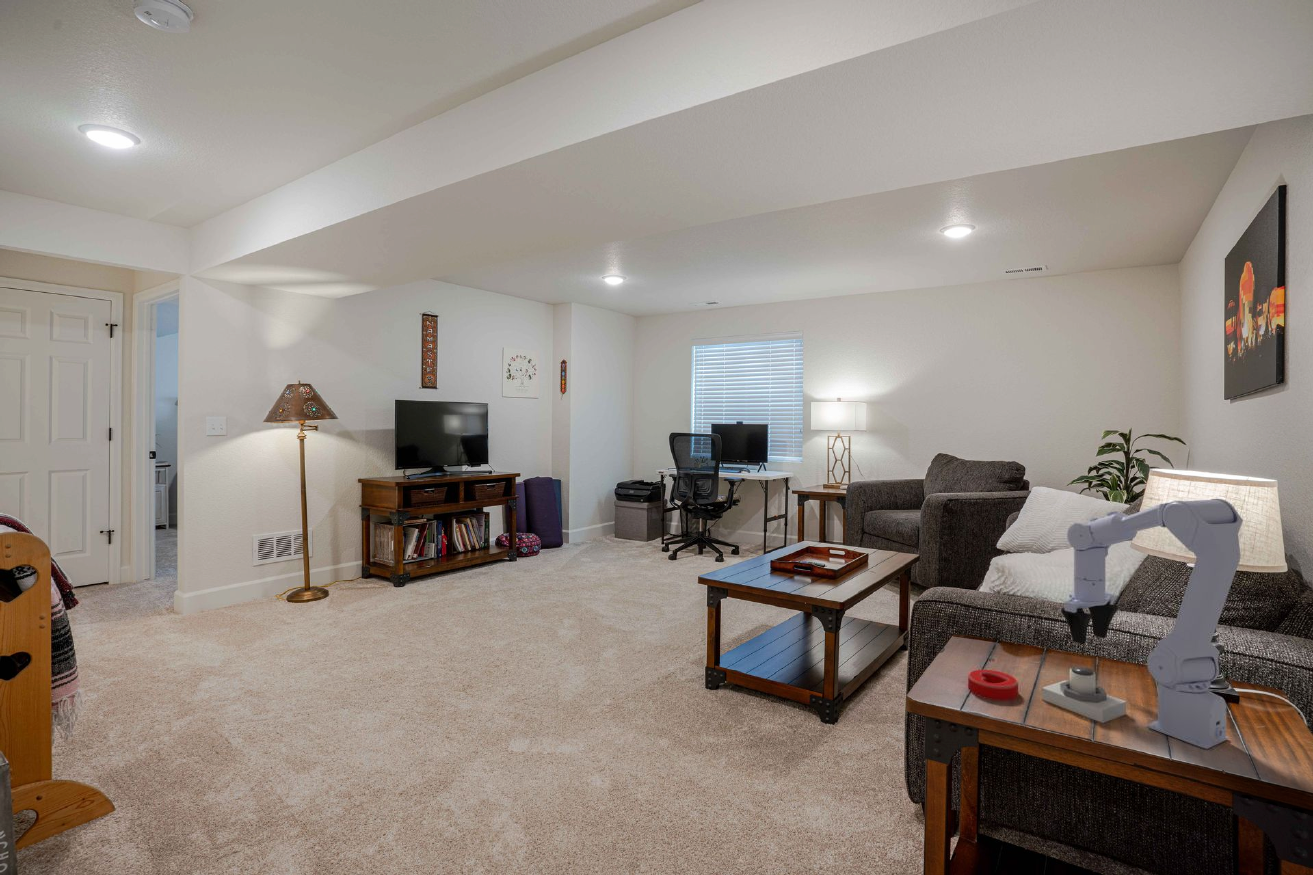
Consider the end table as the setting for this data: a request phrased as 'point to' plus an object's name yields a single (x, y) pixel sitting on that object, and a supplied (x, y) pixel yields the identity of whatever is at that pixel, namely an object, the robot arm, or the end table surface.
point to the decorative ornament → (993, 684)
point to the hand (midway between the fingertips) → (1089, 639)
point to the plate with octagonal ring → (1085, 702)
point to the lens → (1082, 680)
